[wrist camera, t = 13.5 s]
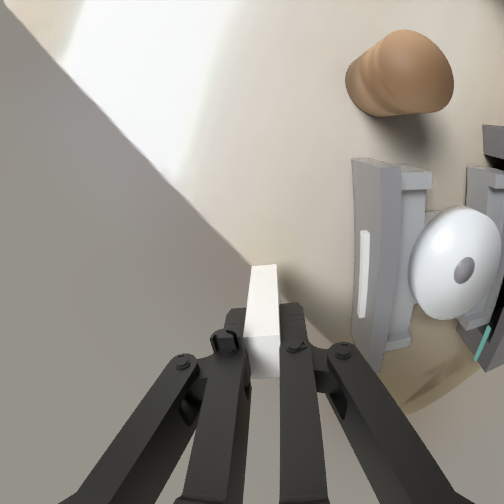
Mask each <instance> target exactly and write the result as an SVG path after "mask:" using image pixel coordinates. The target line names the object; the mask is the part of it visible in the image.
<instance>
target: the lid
mask: <svg viewBox="0 0 504 504" xmlns="http://www.w3.org/2000/svg"><path fill="white" fill-rule="evenodd" d="M500 259H501V238H500V234H499V231H498V228H497V226H496V225H495V223H494V222H493V221H492V220H491V219H490V218H489V217H488V216H486V215H484V214H482V213H480V212H478V211H477V210H475V209H472V208H470V207H467V206H454V207H450V208H448V209H446V210H444V211H442V212H440V213H439V214H437V215H436V216H435V217H434V218H433V219H432V220H431V221H430V222H429V223H428V224H427V225H426V226H425V228H424V229H423V230H422V232H421V233H420V235H419V236H418V238H417V240H416V242H415V244H414V246H413V249H412V252H411V255H410V259H409V263H408V272H407V276H408V285H409V288H410V291H411V293H412V295H413V297H414V298H415V300H416V301H417V302H418V304H419V305H420V306H421V308H422V309H423V310H424V312H425V313H426V314H427V315H429V316H430V317H432V318H434V319H438V320H449V319H453V318H456V317H459V316H461V315H463V314H464V313H466V312H468V311H469V310H470V309H472V308H473V307H474V306H475V305H476V304H477V303H478V302H479V301H480V300H481V299H482V298H483V297H484V295H485V294H486V293H487V291H488V290H489V288H490V286H491V285H492V283H493V281H494V279H495V276H496V274H497V271H498V268H499V264H500Z"/></svg>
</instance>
